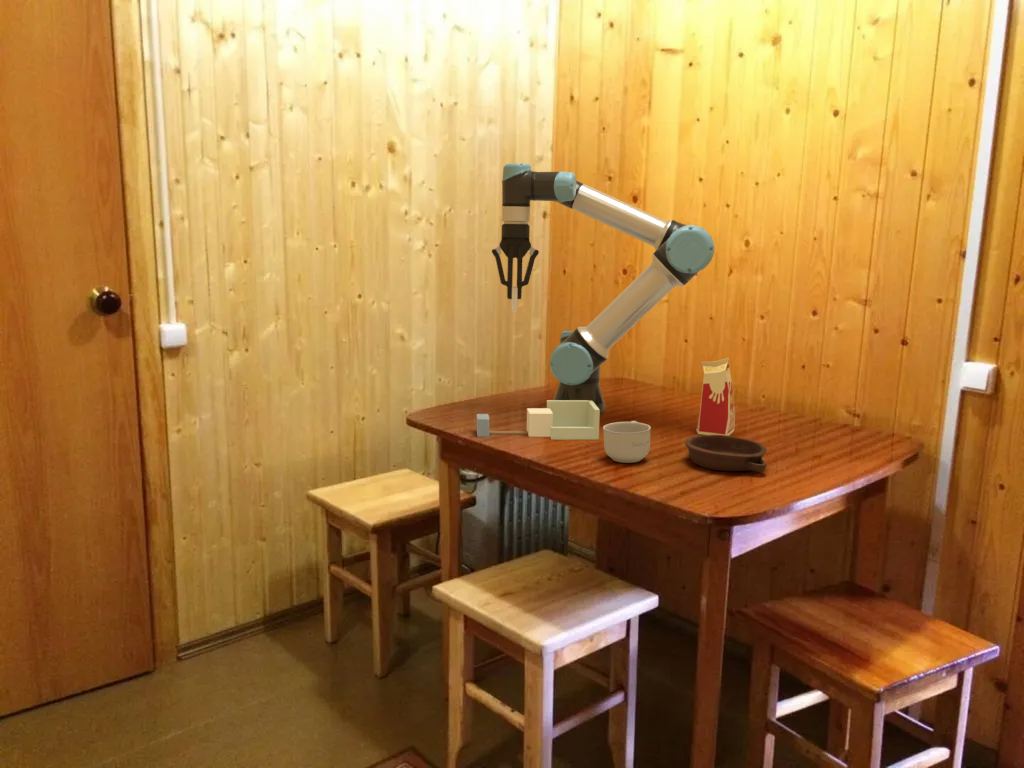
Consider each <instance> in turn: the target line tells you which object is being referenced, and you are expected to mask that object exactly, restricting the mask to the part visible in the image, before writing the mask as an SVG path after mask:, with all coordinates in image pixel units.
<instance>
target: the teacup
mask: <svg viewBox="0 0 1024 768" xmlns="http://www.w3.org/2000/svg"><path fill="white" fill-rule="evenodd" d="M602 430H603V446H604V452H605V453H606V455H607V456H608V457H609V458H611V460H613V461H614V462H617V463H625V464H632V463H638V462H640V461H642V460H643V459H644V458H645V457H646V456H647V455H648V454H649V453H650V448H651V430H652V427H651V425H649V424H646V423H644V422H639V421H637V420H631V421H616V422H611V423H607V424H605V425H603V427H602Z"/></svg>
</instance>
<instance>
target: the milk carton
mask: <svg viewBox="0 0 1024 768" xmlns="http://www.w3.org/2000/svg"><path fill="white" fill-rule="evenodd" d="M729 360H730V357H726V358H723V359H722V358H721V359H719V360H715V361H713V360H711V361H700V364H701V365H702V369H703V381H702V387H701V397H700V407H699V408H700V409H699V414H698V420H697V424H696V429H695V431H696V434H698V435H727V436H731V435H732V433H733V432H735V420H736V418H735V417H736V410H735V399H734V398H735V395H734V386H733V380H732V375H731V370H730V364H729Z"/></svg>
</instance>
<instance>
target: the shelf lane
mask: <svg viewBox="0 0 1024 768" xmlns="http://www.w3.org/2000/svg"><path fill="white" fill-rule="evenodd" d="M546 408H550V409H551V411H552V413H553V427H551V437H550V440H557V441H558V440H561V441H562V440H565V441H566V440H567V441H568V440H573V441H574V440H575V441H577V440H587V441H588V440H595V441H596V440H599V438H600V414H601V413H600V410H599V408H598V407H597V406H596V405H595V403H594V402H593V401H592V400H553V399H549V400H548V399H546Z"/></svg>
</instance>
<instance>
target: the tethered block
mask: <svg viewBox="0 0 1024 768" xmlns="http://www.w3.org/2000/svg"><path fill="white" fill-rule="evenodd" d="M551 427H553V413H552V411H551V409H550V408H547V407H543V408H542V407H541V408H536V407H535V408H532V407H530V408H529V407H528V408H526V430H490V416H489V413H476V436H477V437H478V438H480V437H481V438H482V437H483V438H489V437H490V436H492V435H496V434H503V435H505V436H506V435H507V436H509V435H508V434H510V435H527V436H528V437H529V438H530V437H531V438H532V437H533V438H536V437H540V438H541V437H543V438H545V437H550V438H551Z"/></svg>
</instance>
